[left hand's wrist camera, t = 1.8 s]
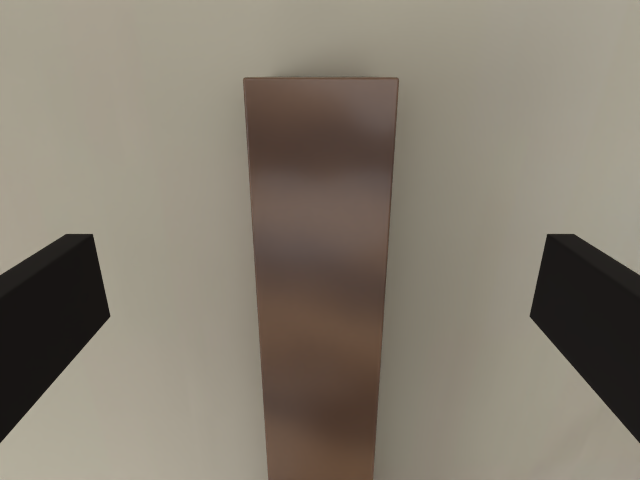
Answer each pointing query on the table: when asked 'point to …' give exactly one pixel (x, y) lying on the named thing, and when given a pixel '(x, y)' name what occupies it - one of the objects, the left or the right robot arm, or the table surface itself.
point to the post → (320, 265)
